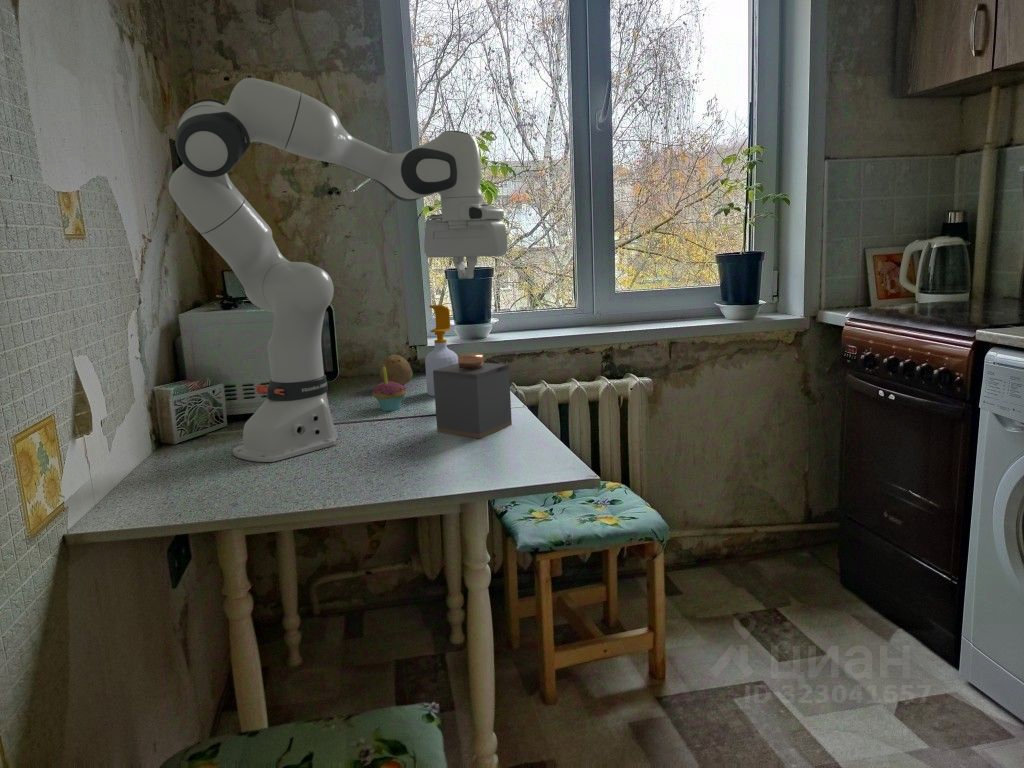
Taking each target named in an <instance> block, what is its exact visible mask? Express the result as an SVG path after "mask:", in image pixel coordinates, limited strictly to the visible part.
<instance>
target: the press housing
mask: <svg viewBox="0 0 1024 768" xmlns="http://www.w3.org/2000/svg"><path fill="white" fill-rule="evenodd" d="M433 378H434V392H435V397H434V400H435V401H434V403H435V404H434V405H435V416H436V431H437V433H443V434H448V435H454V436H460V437H467V438H473V439H483V438H485V437H487V436H490V435H491V434H495V433H497V432H499V431H501V430H503V429H505V428H507V427H510V426H512V425H513V423H512V419H513V418H512V404H511V403H512V402H511V399H512V398H511V384H510V383H511V381H510V364H508V363H496V362H484V366H482V367H478V368H474V369H469V368H459V366H458V364H454V365H451V366H447V367H444V368H440V369H437V370H434V371H433Z"/></svg>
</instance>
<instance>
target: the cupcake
mask: <svg viewBox="0 0 1024 768" xmlns="http://www.w3.org/2000/svg"><path fill="white" fill-rule="evenodd" d="M383 366H384V364H383ZM383 371H384V378H385V381H383V382H379V383H377V384H376V385H375V386H374V387H373V389H372V396H373V397H374V399H376V400H377V402H378V405H379V406H380V409H381V411H384V412H392V411H397V410H400V409H401V406H402V402H403V399H404V396H405V395H406V394H407V391H406V387H405V385H404V386H403V385H402V384H400V383H398V382H394V381H388V380H387V373H386V367H383Z"/></svg>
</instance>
